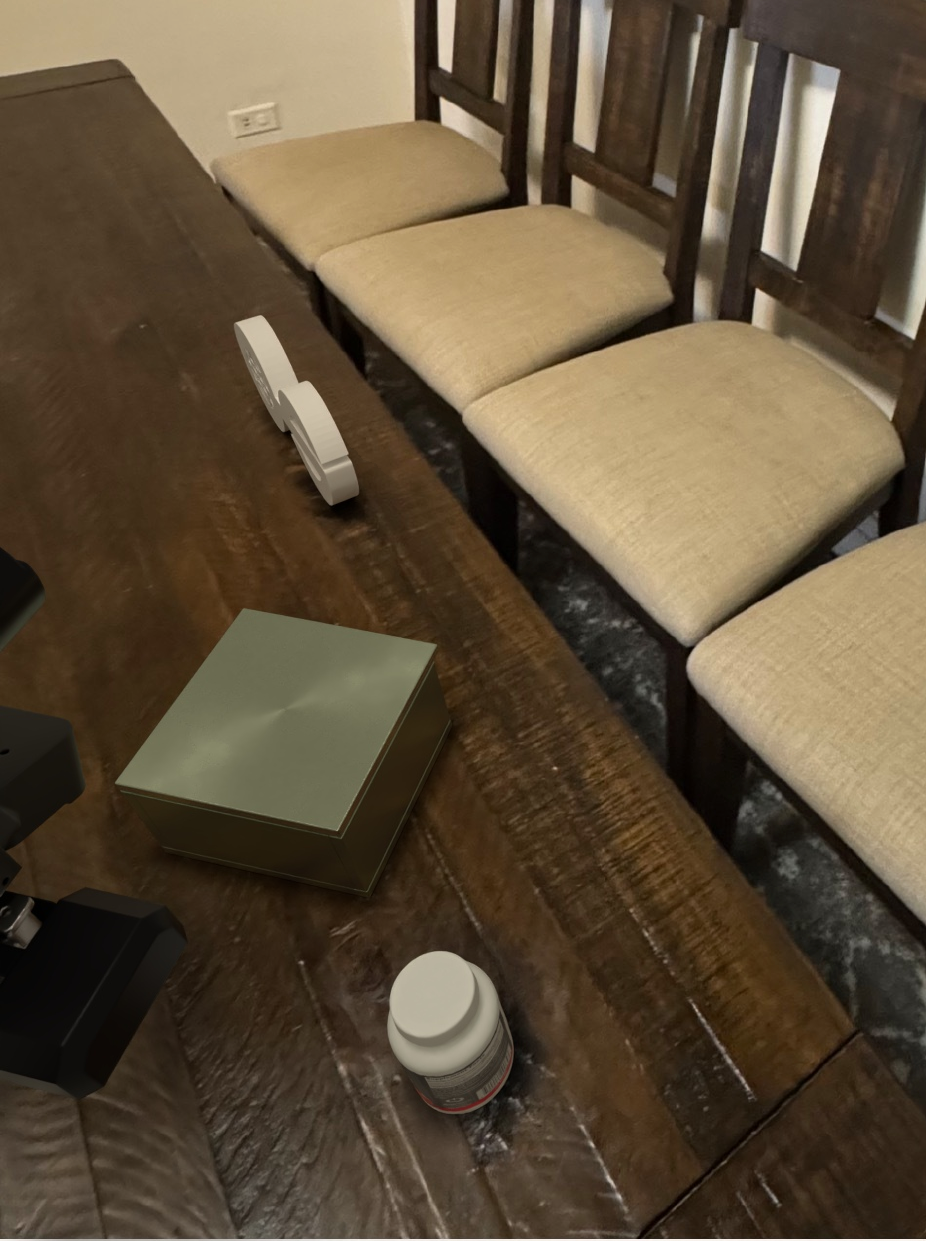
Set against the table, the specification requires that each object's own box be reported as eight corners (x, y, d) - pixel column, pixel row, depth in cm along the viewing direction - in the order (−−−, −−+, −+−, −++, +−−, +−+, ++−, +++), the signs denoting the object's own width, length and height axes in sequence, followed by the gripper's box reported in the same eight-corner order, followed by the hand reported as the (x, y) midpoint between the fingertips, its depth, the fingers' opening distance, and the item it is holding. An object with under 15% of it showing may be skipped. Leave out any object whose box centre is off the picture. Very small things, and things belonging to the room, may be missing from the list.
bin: (272, 690, 71) (240, 624, 66) (452, 725, 69) (434, 661, 64) (165, 852, 62) (119, 791, 57) (370, 898, 60) (341, 839, 55)
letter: (257, 394, 95) (223, 302, 88) (280, 386, 96) (248, 295, 89) (343, 528, 83) (312, 434, 76) (368, 517, 84) (340, 424, 77)
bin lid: (246, 615, 67) (243, 607, 66) (439, 651, 65) (437, 643, 64) (119, 790, 57) (113, 783, 57) (341, 838, 55) (337, 831, 55)
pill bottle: (403, 1035, 55) (363, 962, 48) (499, 992, 57) (473, 917, 50) (426, 1136, 52) (387, 1074, 45) (527, 1088, 53) (504, 1021, 47)
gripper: (195, 700, 36) (310, 889, 47) (-247, 611, 39) (-39, 812, 50) (-28, 1020, 29) (172, 1158, 40) (-566, 885, 31) (-235, 1051, 42)
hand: (16, 1023), depth 43 cm, fingers closed
